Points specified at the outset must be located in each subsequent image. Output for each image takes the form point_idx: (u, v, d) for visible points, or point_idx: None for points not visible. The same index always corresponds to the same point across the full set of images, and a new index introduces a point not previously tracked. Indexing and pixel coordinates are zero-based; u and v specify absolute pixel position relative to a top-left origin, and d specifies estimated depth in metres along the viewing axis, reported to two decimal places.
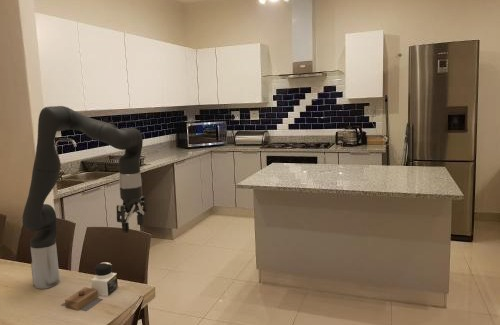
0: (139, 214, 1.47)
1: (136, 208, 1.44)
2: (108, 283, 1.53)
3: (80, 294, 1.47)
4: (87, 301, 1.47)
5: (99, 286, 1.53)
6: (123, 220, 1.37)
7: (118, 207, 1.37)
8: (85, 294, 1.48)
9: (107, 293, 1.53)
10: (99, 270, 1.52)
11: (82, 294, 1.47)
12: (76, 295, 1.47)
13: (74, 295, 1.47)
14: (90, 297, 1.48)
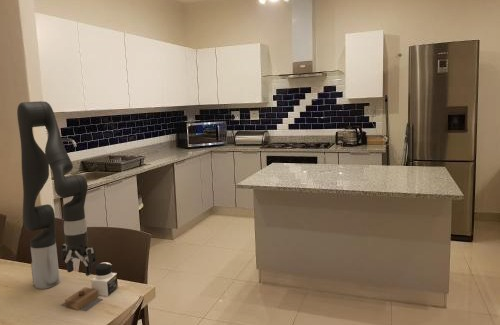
0: (69, 261, 1.47)
1: None
2: (108, 283, 1.53)
3: (80, 294, 1.47)
4: (87, 301, 1.47)
5: (99, 286, 1.53)
6: None
7: (91, 250, 1.42)
8: (85, 294, 1.48)
9: (107, 293, 1.53)
10: (99, 270, 1.52)
11: (82, 294, 1.47)
12: (76, 295, 1.47)
13: (74, 295, 1.47)
14: (90, 297, 1.48)
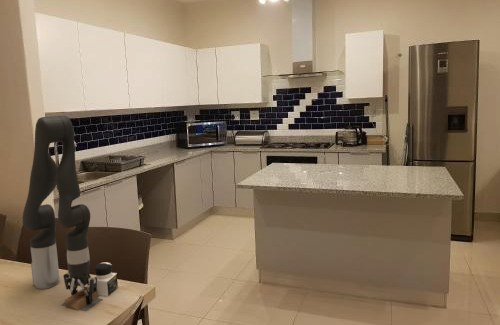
0: (74, 290, 1.49)
1: None
2: (108, 283, 1.53)
3: (80, 294, 1.47)
4: None
5: (99, 286, 1.53)
6: None
7: (94, 280, 1.44)
8: (85, 294, 1.48)
9: (107, 293, 1.53)
10: (99, 270, 1.52)
11: (82, 294, 1.47)
12: (76, 295, 1.47)
13: (74, 295, 1.47)
14: None
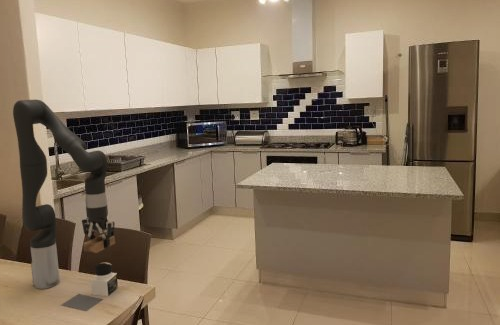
0: (92, 235, 1.53)
1: None
2: (108, 283, 1.53)
3: (98, 239, 1.51)
4: None
5: (99, 286, 1.53)
6: None
7: (111, 224, 1.48)
8: (102, 239, 1.53)
9: (107, 293, 1.53)
10: (99, 270, 1.52)
11: (100, 239, 1.52)
12: (94, 240, 1.52)
13: (92, 240, 1.52)
14: None
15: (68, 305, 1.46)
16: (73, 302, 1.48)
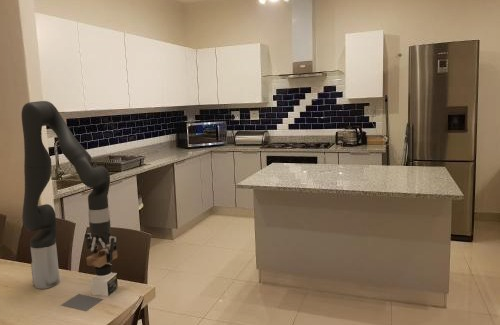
0: (95, 249, 1.55)
1: None
2: (108, 283, 1.53)
3: (101, 253, 1.53)
4: None
5: (99, 286, 1.53)
6: None
7: (114, 239, 1.50)
8: (105, 253, 1.54)
9: (107, 293, 1.53)
10: (99, 270, 1.52)
11: (103, 253, 1.53)
12: (96, 254, 1.54)
13: (95, 254, 1.54)
14: None
15: (68, 305, 1.46)
16: (73, 302, 1.48)
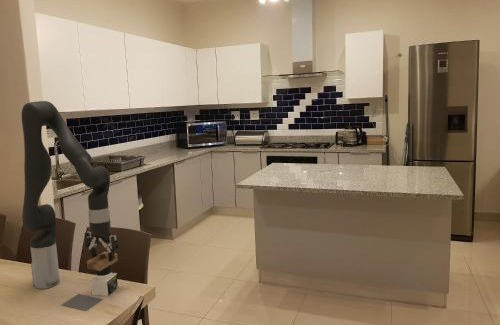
0: (93, 248, 1.55)
1: None
2: (108, 283, 1.53)
3: (101, 256, 1.54)
4: (108, 263, 1.53)
5: (99, 286, 1.53)
6: None
7: (114, 237, 1.50)
8: (106, 257, 1.55)
9: (107, 293, 1.53)
10: None
11: (103, 256, 1.54)
12: (97, 258, 1.54)
13: (95, 258, 1.54)
14: None
15: (68, 305, 1.46)
16: (73, 302, 1.48)
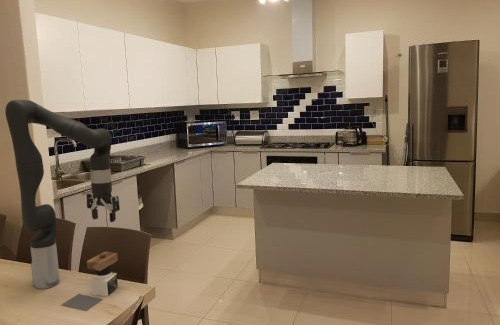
0: (95, 209, 1.59)
1: None
2: (108, 283, 1.53)
3: (101, 256, 1.54)
4: (108, 263, 1.53)
5: (99, 286, 1.53)
6: None
7: (115, 198, 1.54)
8: (106, 257, 1.55)
9: (107, 293, 1.53)
10: None
11: (103, 256, 1.54)
12: (97, 258, 1.54)
13: (95, 258, 1.54)
14: (111, 259, 1.55)
15: (68, 305, 1.46)
16: (73, 302, 1.48)
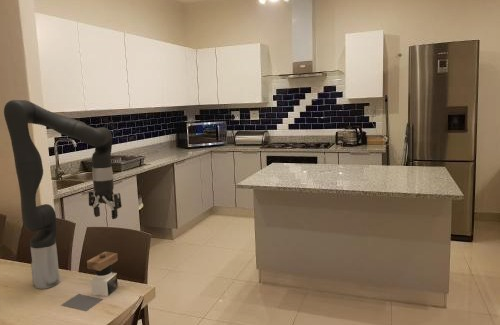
0: (97, 206, 1.62)
1: None
2: (108, 283, 1.53)
3: (101, 256, 1.53)
4: (108, 263, 1.53)
5: (99, 286, 1.53)
6: None
7: (117, 195, 1.57)
8: (106, 257, 1.55)
9: (107, 293, 1.53)
10: None
11: (103, 256, 1.54)
12: (97, 258, 1.54)
13: (95, 258, 1.54)
14: (111, 259, 1.55)
15: (68, 305, 1.46)
16: (73, 302, 1.48)
